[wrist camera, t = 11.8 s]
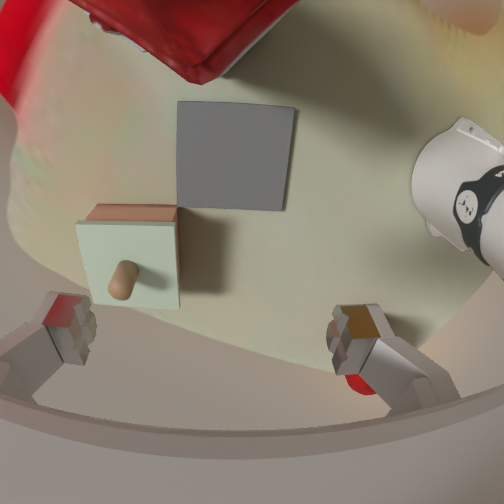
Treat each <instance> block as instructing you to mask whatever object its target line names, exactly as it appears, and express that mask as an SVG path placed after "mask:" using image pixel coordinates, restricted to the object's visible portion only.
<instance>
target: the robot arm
mask: <svg viewBox="0 0 504 504" xmlns="http://www.w3.org/2000/svg"><path fill="white" fill-rule="evenodd" d="M470 128H471V130H470ZM412 196H413V200H414V203H415V205H416V207H417V209H418V210H419V212H420V213H421V214H422V215H423V217H424V218H425V220H426V224H427V228H428V231H429V233H430V234H431V235H432V236H434V237H440V236H444V237H445V238H446V239H447V240H448V241H450V242H451V243H452V244H453V245H454V246H455V247H457V248H458V249H459V250H461V251H465V250H470V251H471V252H472V254H473V255H474V256H475V257H476V258H478V259H479V260H480V261H482V262H483V263H484V264H485V265H487V266H491V267H492V268H493V269H494V271H495V272H496V273H497V274H498V275H499V276H500V277H501V278H502V279H503V281H504V145H503V144H502V143H500V142H499V141H498V140H497V139H495V138H494V137H493V136H491V135H490V134H489V133H487V132H486V131H485V130H483V129H482V128H481V127H479V126H478V125H477V124H475V123H474V122H472V121H471V120H469V119H468V118H466V117H461V118H460V119H459V120H458V121H457V122H456V123H455V124H454V125H453V126H452V128H451V129H449V130H448V131H446V132H443V133H441V134H439V135H438V136H436V137H435V138H433V139H432V140H431V141H430V142H429V143H428V144H427V145H426V146H425V147H424V149H423V150H422V152H421V153H420V155H419V157H418V159H417V161H416V164H415V167H414V170H413V175H412ZM90 306H91V302H90V299H89V297H88V296H86V295H80V294H72V293H64V292H53V291H50V292H48V293H46V295H45V297H44V298H43V300H42V302H41V303H40V305H39V307H38V308H37V310H36V312H35V314H34V315H33V317H32V319H31V320H30V322H25V323H24V324H22V325H21V326H19V327H18V328H16V329H15V330H13V331H12V332H10V333H9V334H8V335H6V336H4V337H3V338H1V339H0V504H504V384H502V385H500V386H497V387H494V388H491V389H489V390H486V391H483V392H480V393H477V394H474V395H471V396H468V397H464V398H461V397H460V395H459V393H458V391H457V389H456V387H455V385H454V383H453V381H452V379H451V377H450V375H449V373H448V372H447V371H446V370H445V369H444V368H442V367H441V366H439V365H438V364H437V363H435V362H434V361H433V360H431V359H430V358H428V357H427V356H426V355H424V354H423V353H421V352H420V351H419V350H417V349H416V348H415V347H413V346H412V345H410V344H409V343H408V342H406V341H405V340H403V339H402V338H401V337H399V336H397V337H395V335H394V333H393V331H392V329H391V327H390V325H389V323H388V321H387V319H386V317H385V315H384V313H383V311H382V309H381V307H380V306H379V305H378V304H355V305H336V306H335V307H334V310H333V313H332V315H333V318H334V320H332V321H331V322H330V323H329V325H328V328H327V335H326V340H327V346H328V350H329V351H331V352H332V353H333V354H334V355H333V358H332V363H333V366H334V370H335V373H336V375H350V374H359V376H360V377H361V378H362V379H363V380H364V381H365V382H366V383H367V384H368V385H369V386H370V387H371V388H372V389H373V390H374V391H375V392H376V393H377V394H378V395H379V396H380V397H381V398H382V399H383V400H384V401H385V402H386V403H387V404H388V405H389V406H390V407H391V408H392V409H391V410H390V411H389V413H388V414H387V415H386V416H385V417H383V418H377V419H372V420H365V421H359V422H352V423H345V424H337V425H329V426H319V427H309V428H298V429H297V428H296V429H280V430H251V431H250V430H248V431H228V430H226V431H224V430H223V431H222V430H196V429H180V428H168V427H157V426H148V425H139V424H131V423H124V422H118V421H111V420H106V419H100V418H94V417H89V416H84V415H79V414H75V413H69V412H65V411H61V410H57V409H53V408H49V407H45V406H41V405H38V404H37V403H36V401H35V400H34V399H33V397H32V395H33V394H34V393H35V392H36V391H37V390H38V389H39V388H40V387H41V386H42V385H43V383H45V382H46V381H47V380H48V379H49V378H50V377H51V376H52V375H53V374H54V373H55V372H56V371H57V370H58V369H59V368H60V367H61V366H62V365H63V363H68V364H76V365H83V366H85V364H86V361H87V358H88V355H89V352H90V350H89V347H88V345H89V344H90V343H92V342H93V341H94V338H95V335H96V328H97V325H96V318H95V315H94V314H93V313H92V312H91V311H90V310H89V309H90Z"/></svg>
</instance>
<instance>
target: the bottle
mask: <svg viewBox="0 0 504 504" xmlns="http://www.w3.org/2000/svg"><path fill="white" fill-rule="evenodd" d="M69 1H71V2H72V3H74V4H76V5H77V6H79V7H81V8H82V9H83V10H84V13H85V14H86V15H87V16H89V17H90V20H91V23H92V25H94V26H95V27H97V28H98V29H100V30H101V31H103V32H106V33H111V34H115V35H118V36H120V37H121V38H122V39H124V40H125V41H127V42H128V43H130V44H131V45H133V46H134V47H136V48H137V49H138V50H140V51H141V52H149V53H150V54H151V55H153V56H154V57H156V58H157V59H158V60H160V61H161V62H162V63H164V64H165V65H166V66H168V67H169V68H171V69H172V70H173V71H175V72H176V73H177V74H178V75H180V76H181V77H182V78H184V79H185V80H186V81H188V82H190V83H194V84H199V85H203V84H205V83H207V82H210V81H212V80H214V79H216V78H219V77H221V76H223V75H225V74H226V73H227V72H228V71H229V70H230V69H231V68H232V67H233V66H234V65H235V64H236V63H237V62H238V61H239V60H240V59H241V58H242V57H243V56H244V55H245V54H246V53H247V52H248V51H249V50H250V49H251V48H252V47H253V46H254V45H255V44H256V43H257V42H258V41H259V40H260V39H261V38H262V37H263V36H264V35H266V34H267V33H268V32H269V31H270V30H271V29H272V28H273V27H274V26H275V25H276V24H277V23H278V22H279V21H280V20H281V19H282V18H283V17H284V16H285V15H286V14H287V13H288V12H289V11H290V10H291V9H292V8H293V7H294V6H295V5H296V4H297V3H298V2H299V1H300V0H69Z"/></svg>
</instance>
